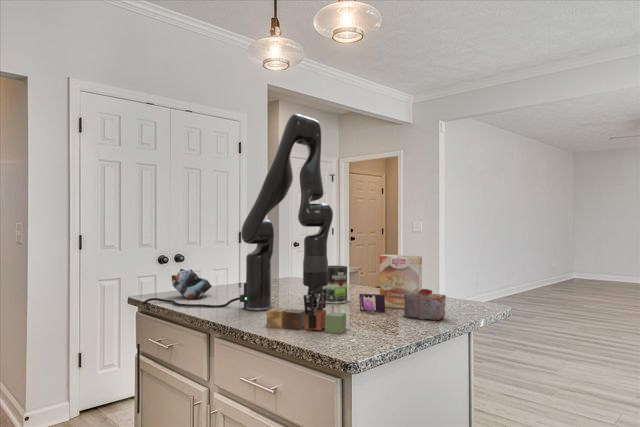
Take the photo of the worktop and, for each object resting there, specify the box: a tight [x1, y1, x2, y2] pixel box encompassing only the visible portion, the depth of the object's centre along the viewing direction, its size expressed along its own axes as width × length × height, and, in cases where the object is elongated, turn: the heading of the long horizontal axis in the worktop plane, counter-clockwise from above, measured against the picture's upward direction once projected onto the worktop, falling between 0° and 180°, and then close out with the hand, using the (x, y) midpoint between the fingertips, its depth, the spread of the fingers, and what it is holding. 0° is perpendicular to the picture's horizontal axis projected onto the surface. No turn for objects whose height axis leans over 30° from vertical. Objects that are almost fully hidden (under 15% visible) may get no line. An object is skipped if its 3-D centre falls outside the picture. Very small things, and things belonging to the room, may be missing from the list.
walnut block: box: [284, 308, 305, 331], centre depth 137 cm, size 5×5×5 cm
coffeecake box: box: [379, 254, 423, 310], centre depth 170 cm, size 15×7×20 cm, turn 68°
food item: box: [404, 288, 447, 321], centre depth 151 cm, size 14×8×10 cm, turn 62°
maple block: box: [266, 307, 289, 329], centre depth 139 cm, size 5×5×5 cm
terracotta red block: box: [304, 309, 327, 331], centre depth 135 cm, size 5×5×5 cm
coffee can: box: [323, 265, 348, 305], centre depth 181 cm, size 10×10×14 cm
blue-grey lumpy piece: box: [170, 268, 213, 300], centre depth 190 cm, size 15×12×14 cm
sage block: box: [324, 311, 347, 334], centre depth 133 cm, size 5×5×5 cm
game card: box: [358, 293, 386, 314], centre depth 159 cm, size 7×5×9 cm
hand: (315, 325), depth 135 cm, fingers closed on terracotta red block, 5 cm apart
